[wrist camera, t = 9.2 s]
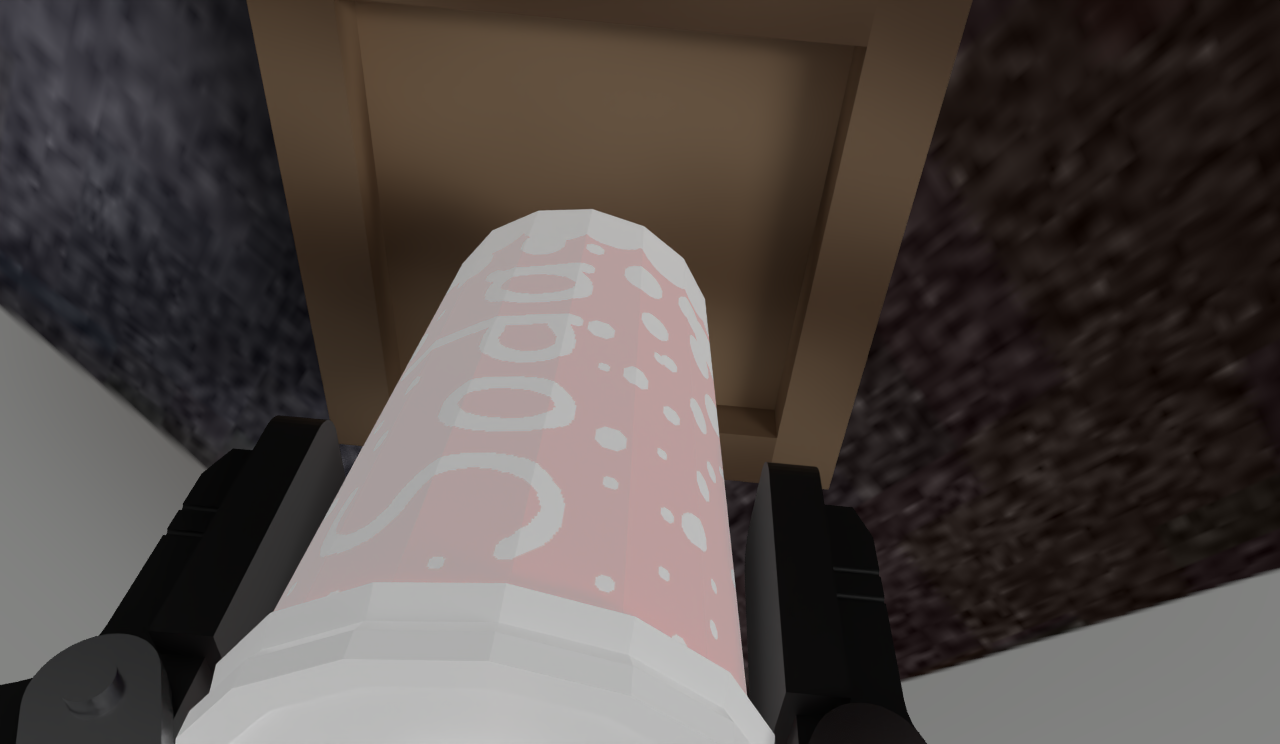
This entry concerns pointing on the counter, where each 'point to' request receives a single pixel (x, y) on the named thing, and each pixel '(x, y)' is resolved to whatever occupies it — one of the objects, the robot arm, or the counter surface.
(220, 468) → the robot arm
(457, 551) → the beverage cup
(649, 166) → the base plinth
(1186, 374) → the counter surface
